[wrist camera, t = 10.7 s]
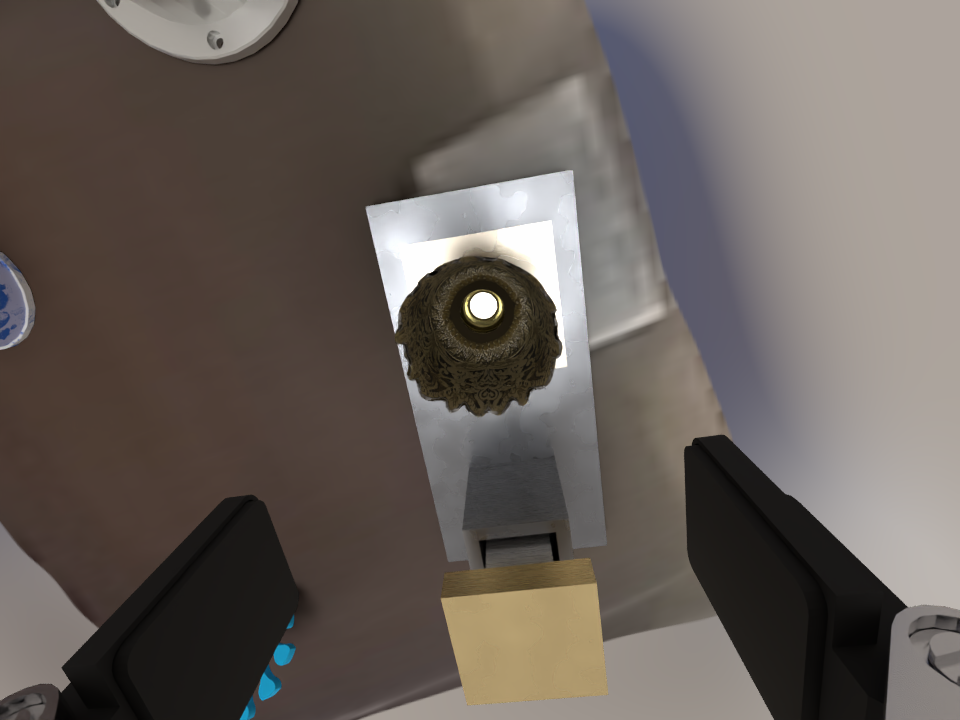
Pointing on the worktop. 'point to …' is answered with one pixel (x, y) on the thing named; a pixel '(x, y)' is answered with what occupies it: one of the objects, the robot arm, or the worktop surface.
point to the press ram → (525, 624)
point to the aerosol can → (14, 305)
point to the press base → (520, 430)
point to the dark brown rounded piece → (479, 336)
